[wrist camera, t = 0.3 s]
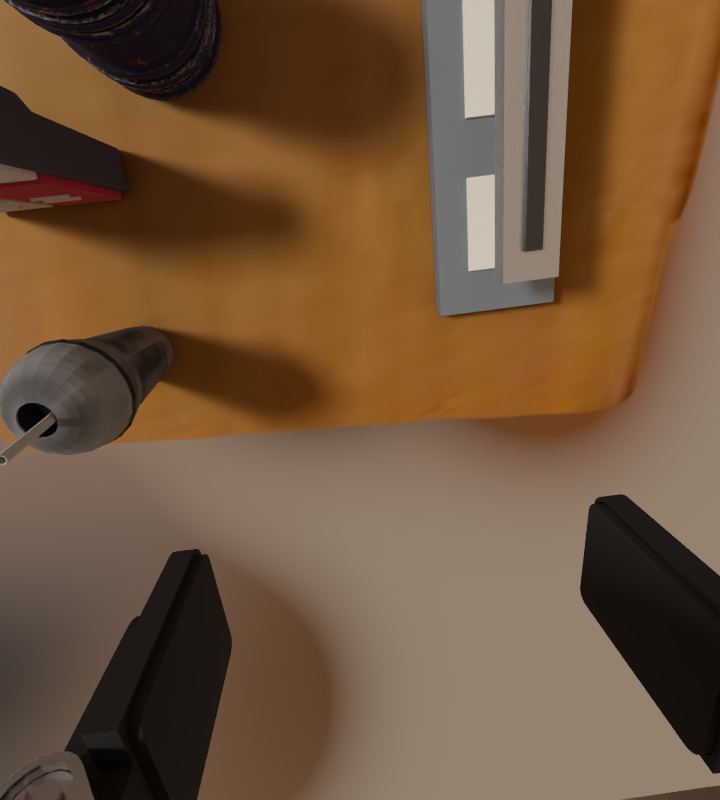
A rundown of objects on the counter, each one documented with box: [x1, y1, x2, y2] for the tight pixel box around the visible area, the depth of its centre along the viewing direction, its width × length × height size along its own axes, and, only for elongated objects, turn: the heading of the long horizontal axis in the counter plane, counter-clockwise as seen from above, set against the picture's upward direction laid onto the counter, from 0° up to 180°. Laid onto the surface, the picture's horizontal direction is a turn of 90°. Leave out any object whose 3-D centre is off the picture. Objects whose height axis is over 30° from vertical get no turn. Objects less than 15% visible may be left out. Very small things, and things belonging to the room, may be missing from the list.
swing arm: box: [494, 0, 573, 284], centre depth 26 cm, size 26×4×2 cm, turn 7°
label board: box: [421, 0, 555, 316], centre depth 31 cm, size 28×10×6 cm, turn 7°
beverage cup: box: [0, 326, 173, 465], centre depth 28 cm, size 7×7×20 cm
